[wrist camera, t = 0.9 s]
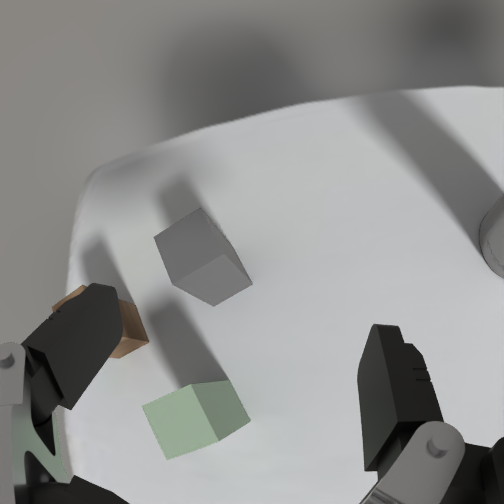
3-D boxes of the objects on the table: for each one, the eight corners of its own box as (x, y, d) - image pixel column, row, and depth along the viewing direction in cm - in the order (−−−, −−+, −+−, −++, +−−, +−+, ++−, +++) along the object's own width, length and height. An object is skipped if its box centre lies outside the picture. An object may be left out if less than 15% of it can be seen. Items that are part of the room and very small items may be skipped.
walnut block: (135, 305, 38) (82, 284, 29) (149, 342, 36) (95, 330, 27) (106, 322, 38) (51, 307, 29) (119, 358, 36) (62, 351, 27)
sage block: (229, 379, 32) (190, 383, 23) (251, 420, 30) (218, 441, 21) (190, 398, 32) (141, 406, 23) (210, 438, 30) (167, 460, 21)
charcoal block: (233, 247, 37) (200, 207, 28) (253, 284, 35) (224, 253, 26) (196, 269, 37) (153, 237, 28) (213, 306, 35) (172, 284, 26)
